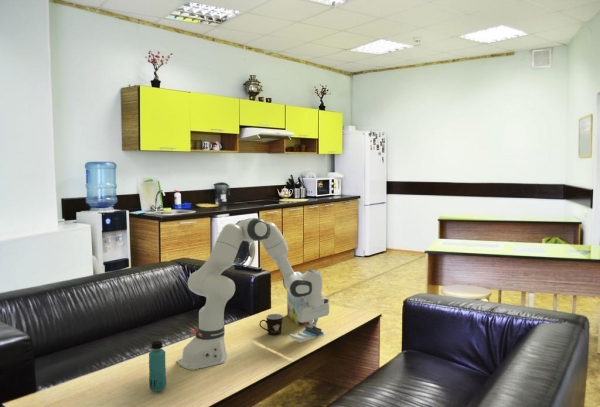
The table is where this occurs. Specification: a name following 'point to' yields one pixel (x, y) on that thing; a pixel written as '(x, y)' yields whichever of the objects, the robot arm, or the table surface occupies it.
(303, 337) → the white ridged tray
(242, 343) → the table surface
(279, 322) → the coffee mug
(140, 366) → the table surface
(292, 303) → the snack box
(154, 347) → the beverage bottle
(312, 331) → the grey rectangular prism
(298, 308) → the robot arm
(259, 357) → the table surface
